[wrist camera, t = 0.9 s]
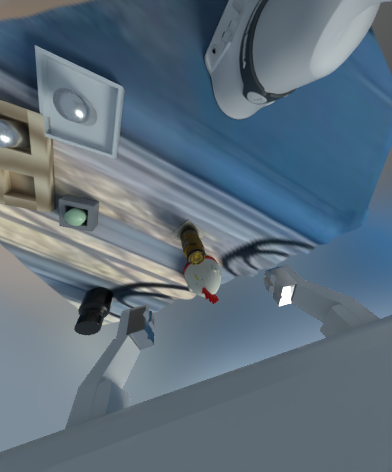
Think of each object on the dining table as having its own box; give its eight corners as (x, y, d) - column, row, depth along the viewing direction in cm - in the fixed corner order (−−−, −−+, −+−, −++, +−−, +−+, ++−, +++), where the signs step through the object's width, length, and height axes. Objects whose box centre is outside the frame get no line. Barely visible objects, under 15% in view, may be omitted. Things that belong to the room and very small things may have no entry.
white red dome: (203, 249, 57) (216, 279, 44) (224, 267, 63) (241, 297, 51) (176, 272, 59) (181, 307, 46) (199, 287, 66) (209, 321, 53)
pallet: (-17, 93, 28) (-34, 87, 26) (51, 117, 32) (42, 114, 29) (3, 198, 36) (-9, 201, 34) (55, 208, 40) (48, 212, 37)
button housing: (67, 194, 39) (58, 198, 35) (99, 201, 41) (93, 206, 38) (67, 219, 42) (59, 225, 38) (97, 225, 44) (92, 231, 41)
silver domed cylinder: (3, 117, 30) (-34, 109, 24) (33, 127, 31) (4, 122, 25) (7, 142, 32) (-27, 141, 26) (35, 150, 33) (8, 151, 27)
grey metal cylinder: (72, 94, 30) (52, 82, 24) (98, 105, 32) (84, 95, 26) (72, 120, 32) (53, 114, 26) (96, 129, 34) (83, 125, 28)
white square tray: (44, 52, 28) (34, 45, 25) (124, 90, 32) (122, 86, 30) (48, 136, 33) (41, 135, 31) (117, 158, 37) (114, 158, 35)
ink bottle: (94, 307, 59) (81, 341, 48) (79, 293, 54) (61, 327, 44) (119, 298, 59) (111, 329, 49) (106, 283, 54) (94, 314, 44)
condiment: (187, 248, 55) (194, 271, 45) (171, 233, 51) (174, 255, 40) (203, 236, 54) (214, 256, 44) (188, 219, 49) (196, 238, 39)
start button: (70, 205, 38) (64, 209, 35) (88, 208, 39) (83, 213, 37) (70, 219, 39) (64, 224, 37) (87, 222, 41) (83, 227, 38)
